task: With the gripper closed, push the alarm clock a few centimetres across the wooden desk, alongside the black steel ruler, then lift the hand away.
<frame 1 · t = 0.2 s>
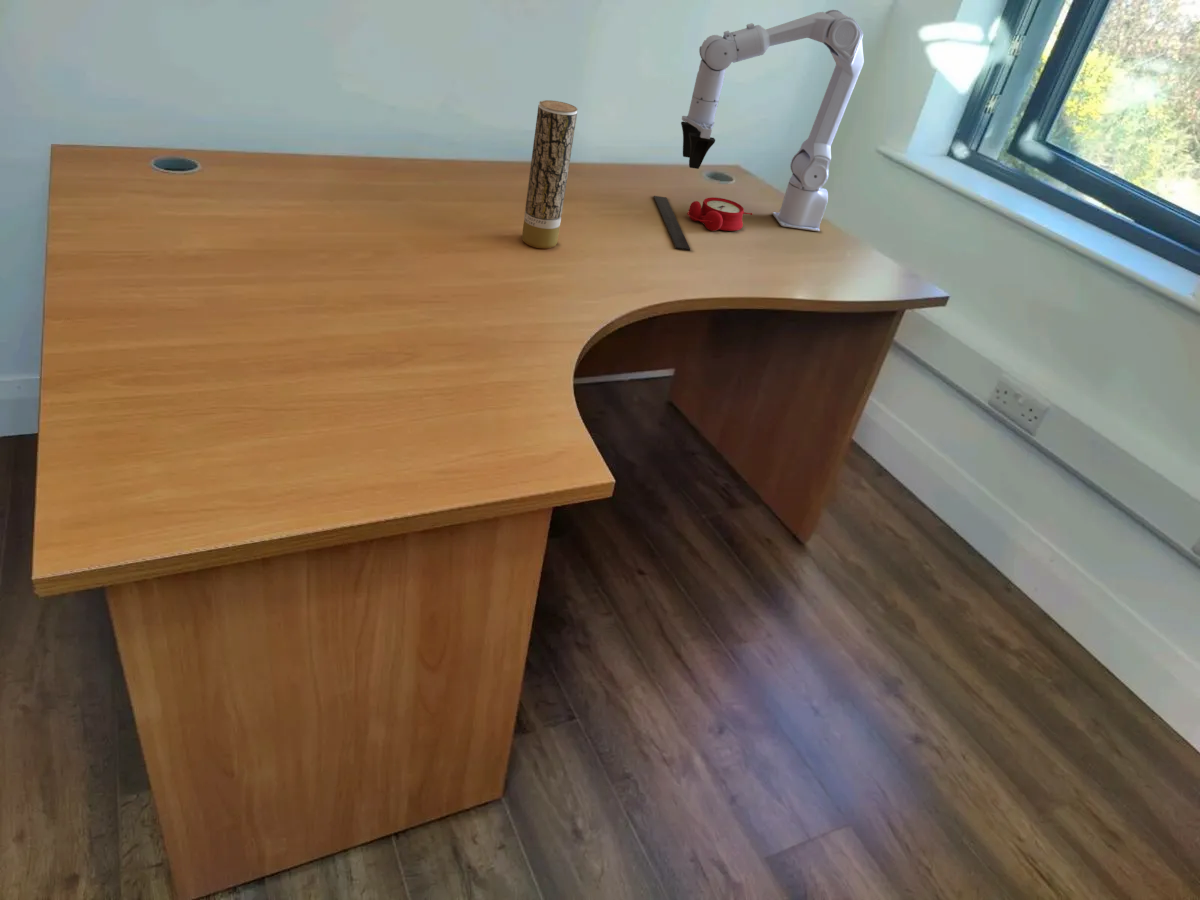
hand: (690, 162, 184), 10 cm above the table, tool pointing down, fingers open, 7 cm apart
paper tube: (539, 243, 158), on the table
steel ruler: (670, 222, 180), on the table
alarm clock: (713, 224, 185), on the table
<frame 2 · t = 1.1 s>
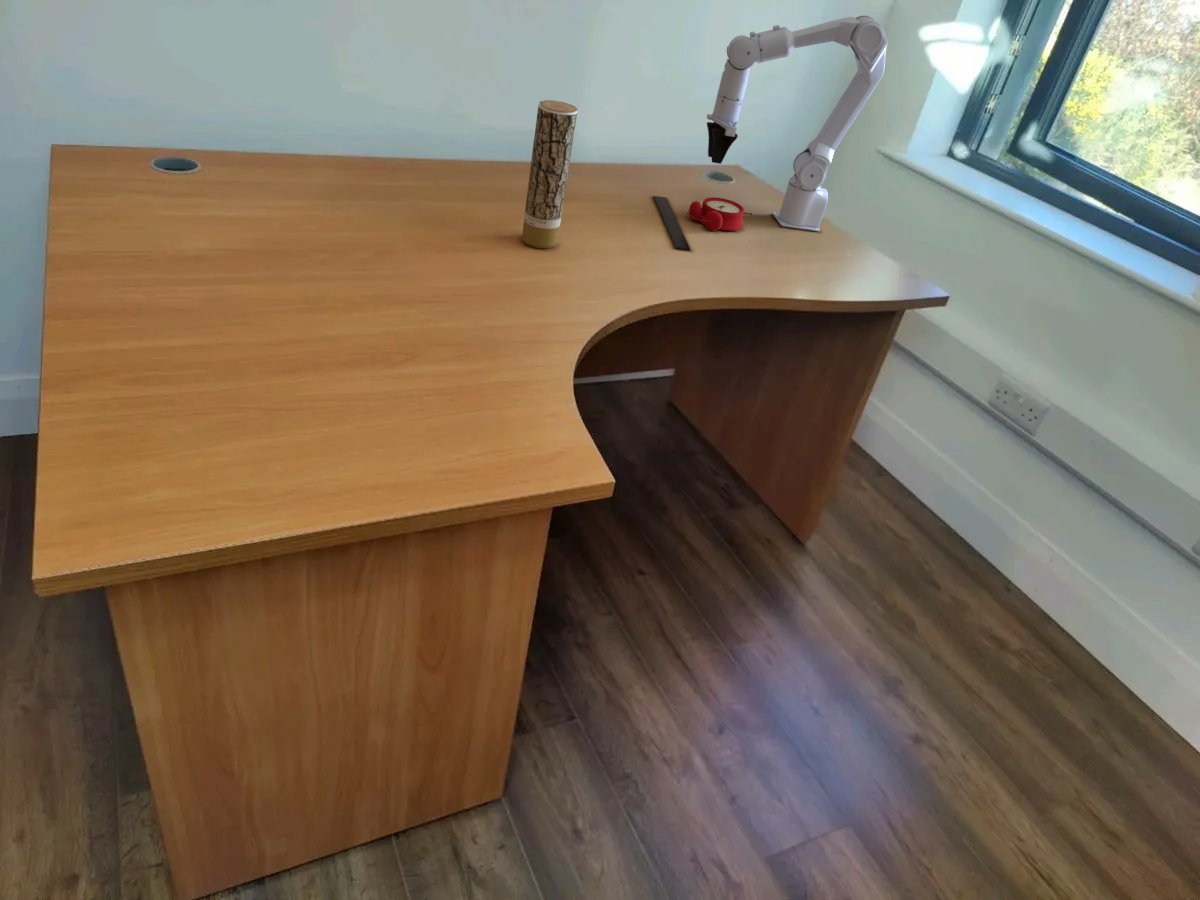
hand: (714, 159, 188), 10 cm above the table, tool pointing down, fingers open, 3 cm apart
nothing on the table moved.
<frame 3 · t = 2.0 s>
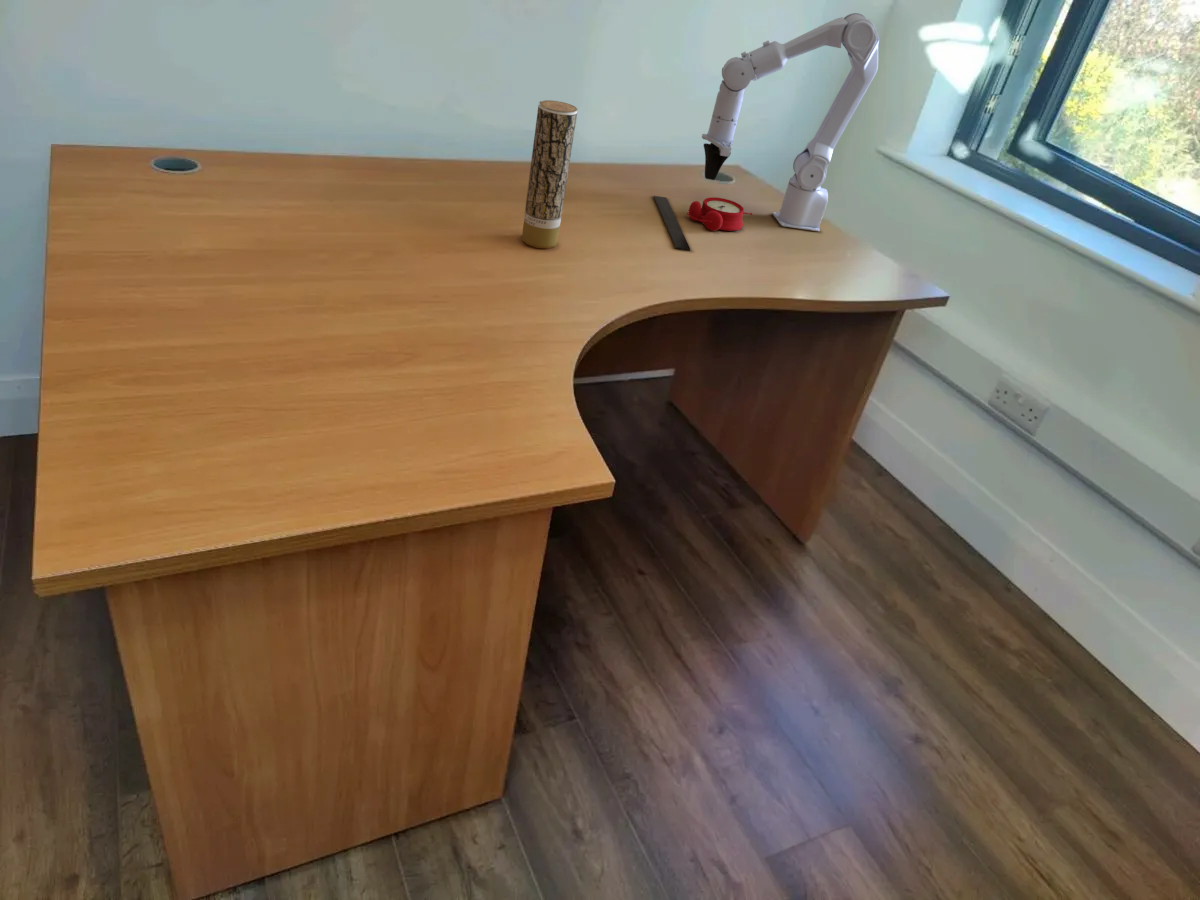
hand: (709, 178, 191), 6 cm above the table, tool pointing down, fingers closed
nothing on the table moved.
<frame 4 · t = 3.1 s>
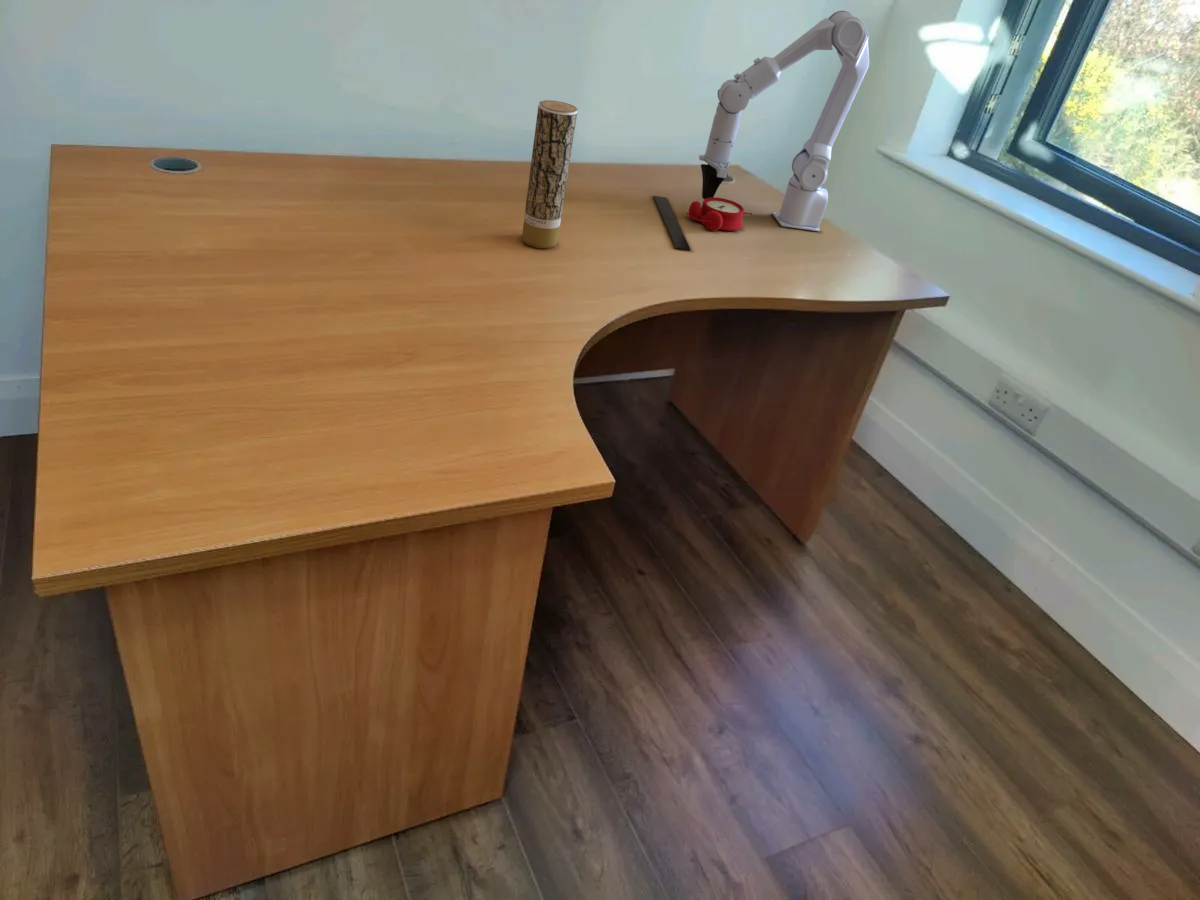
hand: (706, 198, 192), 2 cm above the table, tool pointing down, fingers closed
nothing on the table moved.
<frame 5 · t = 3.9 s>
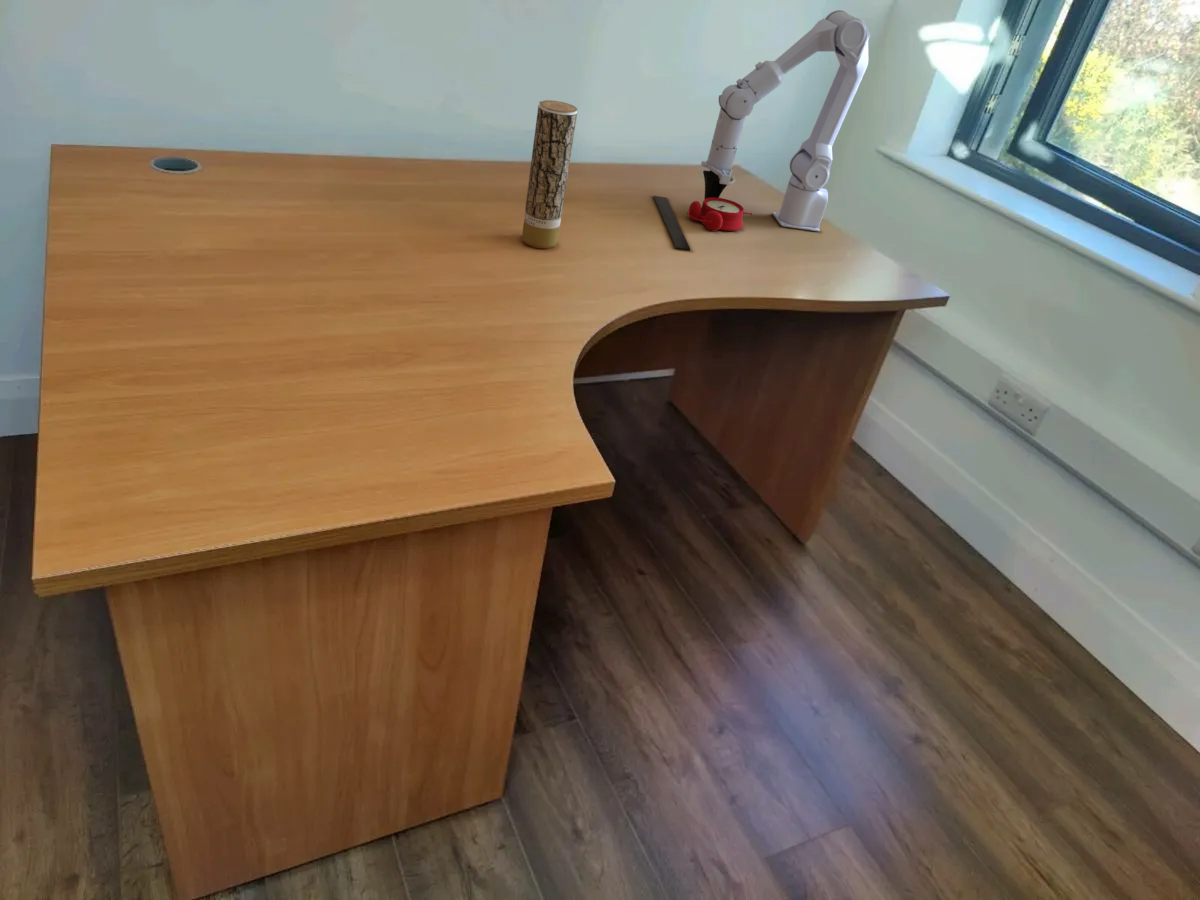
hand: (709, 205, 189), 2 cm above the table, tool pointing down, fingers closed
alarm clock: (713, 224, 185), on the table, touching gripper
everything else where it was.
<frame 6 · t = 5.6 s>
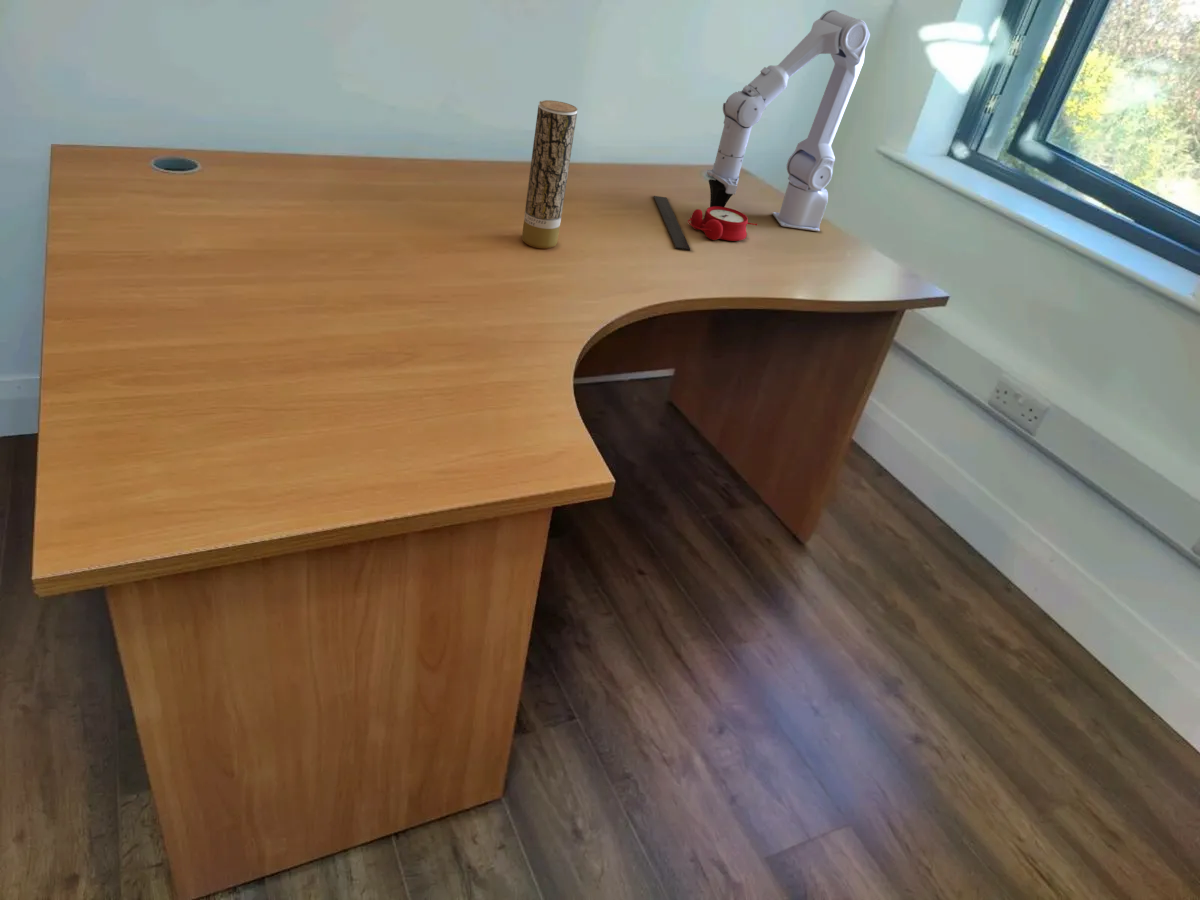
hand: (714, 214, 184), 2 cm above the table, tool pointing down, fingers closed
alarm clock: (716, 233, 180), on the table, touching gripper
everything else where it was.
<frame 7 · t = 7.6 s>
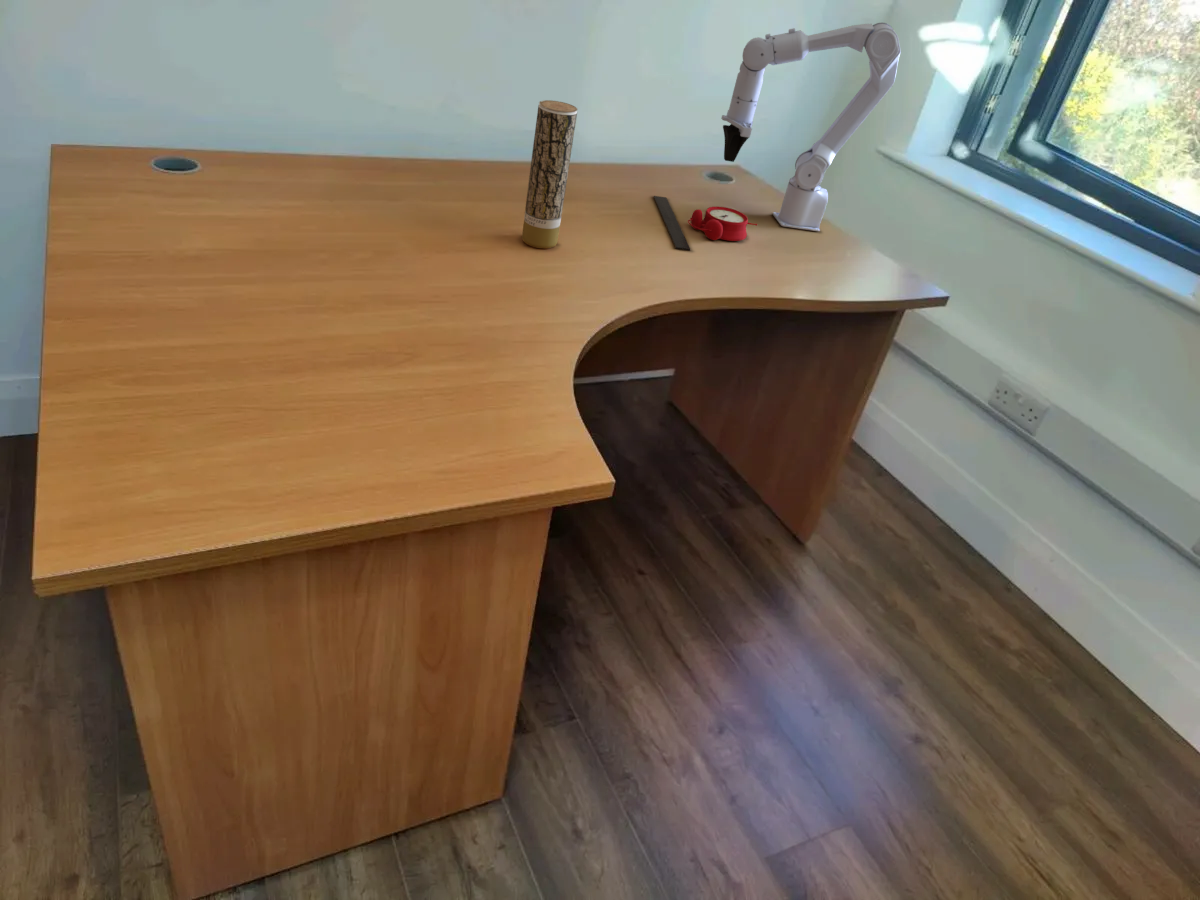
hand: (728, 160, 190), 10 cm above the table, tool pointing down, fingers closed
alarm clock: (716, 233, 180), on the table
everything else where it was.
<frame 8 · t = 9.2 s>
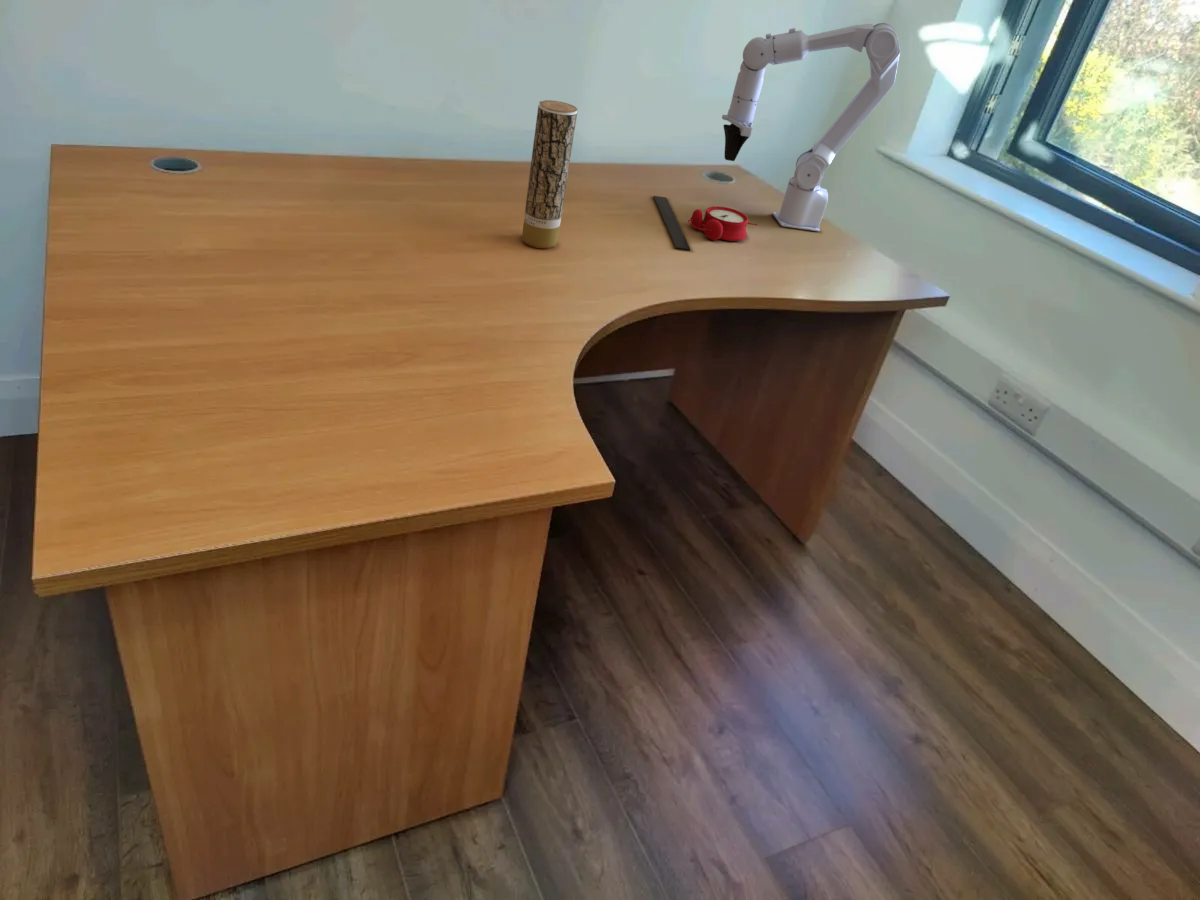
hand: (729, 159, 191), 10 cm above the table, tool pointing down, fingers closed
nothing on the table moved.
at the end: alarm clock inside the target area (1.3 cm from its centre), on the table; alarm clock tilted 0°; alarm clock moved 5.7 cm from its start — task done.
